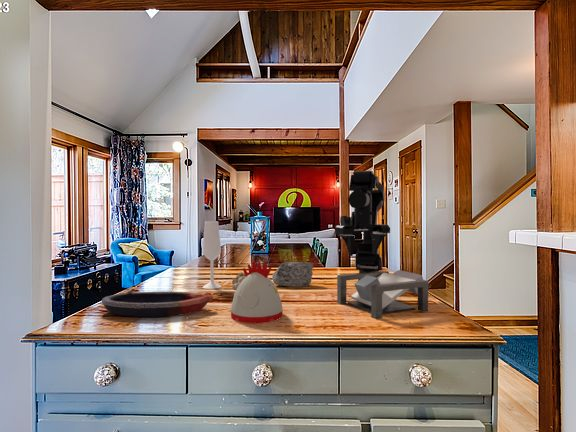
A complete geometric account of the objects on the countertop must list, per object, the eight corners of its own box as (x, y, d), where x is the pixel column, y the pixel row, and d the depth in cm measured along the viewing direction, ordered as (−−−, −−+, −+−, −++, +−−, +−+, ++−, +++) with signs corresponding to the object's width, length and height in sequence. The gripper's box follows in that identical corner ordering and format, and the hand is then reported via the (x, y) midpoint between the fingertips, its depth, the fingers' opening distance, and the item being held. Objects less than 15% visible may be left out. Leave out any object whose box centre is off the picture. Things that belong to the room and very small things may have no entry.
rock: (317, 282, 149) (312, 256, 149) (316, 286, 141) (311, 258, 141) (276, 288, 151) (272, 263, 151) (273, 292, 142) (268, 265, 143)
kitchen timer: (270, 326, 97) (270, 265, 97) (221, 320, 102) (221, 263, 101) (289, 311, 110) (289, 258, 110) (245, 307, 115) (245, 256, 114)
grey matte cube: (373, 289, 116) (366, 275, 115) (383, 292, 112) (377, 277, 111) (360, 298, 115) (354, 283, 114) (370, 302, 110) (364, 287, 109)
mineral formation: (232, 303, 119) (224, 290, 133) (274, 307, 123) (262, 293, 137) (236, 277, 118) (228, 267, 133) (278, 282, 123) (266, 271, 137)
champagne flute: (199, 286, 144) (198, 221, 143) (215, 284, 148) (214, 220, 147) (209, 289, 139) (208, 221, 138) (225, 286, 143) (224, 221, 142)
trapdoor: (398, 279, 126) (393, 266, 125) (431, 288, 113) (425, 273, 112) (356, 309, 120) (350, 295, 119) (386, 322, 107) (379, 306, 106)
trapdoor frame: (384, 296, 127) (384, 270, 127) (428, 311, 110) (428, 281, 110) (337, 302, 120) (337, 275, 119) (375, 319, 102) (376, 286, 102)
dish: (116, 305, 119) (116, 288, 118) (217, 305, 118) (217, 288, 118) (89, 320, 103) (89, 301, 103) (205, 320, 102) (205, 301, 102)
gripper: (371, 208, 142) (370, 251, 142) (326, 208, 134) (326, 254, 134) (391, 208, 132) (391, 254, 132) (344, 208, 124) (344, 258, 124)
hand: (362, 255), depth 131 cm, fingers open, 9 cm apart
